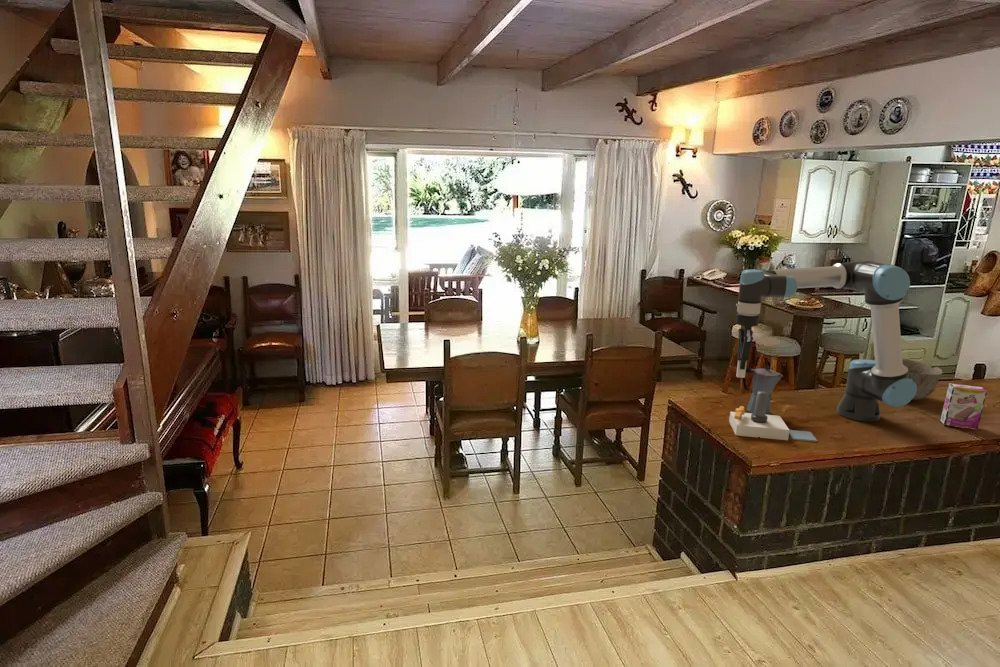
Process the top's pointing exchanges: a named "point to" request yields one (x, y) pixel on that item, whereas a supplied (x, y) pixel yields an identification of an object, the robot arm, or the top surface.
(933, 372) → the bowl
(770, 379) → the moka pot
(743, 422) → the socket board
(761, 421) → the plug
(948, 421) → the candy bar box
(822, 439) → the top surface
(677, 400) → the top surface
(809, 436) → the pad
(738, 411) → the orange bar with knob
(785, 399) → the top surface
